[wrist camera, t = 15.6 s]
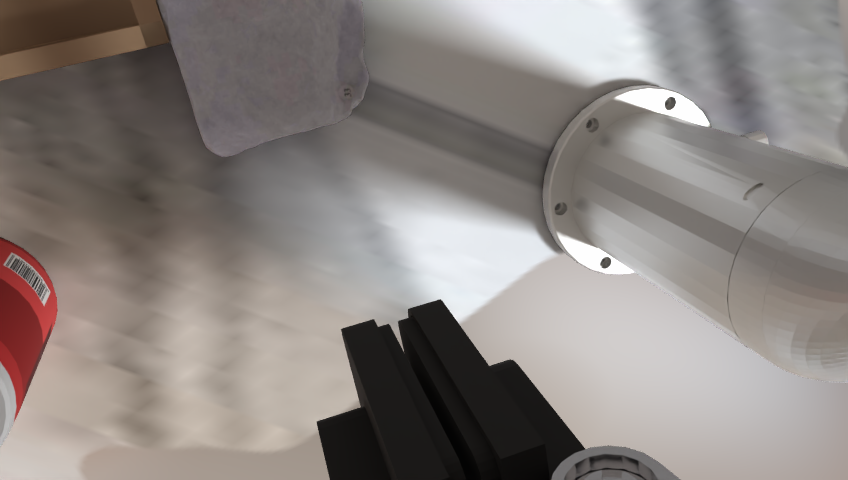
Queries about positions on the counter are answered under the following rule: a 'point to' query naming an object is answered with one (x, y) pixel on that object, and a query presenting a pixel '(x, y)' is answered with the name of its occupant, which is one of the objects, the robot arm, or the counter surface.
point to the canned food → (21, 326)
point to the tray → (73, 32)
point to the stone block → (267, 66)
